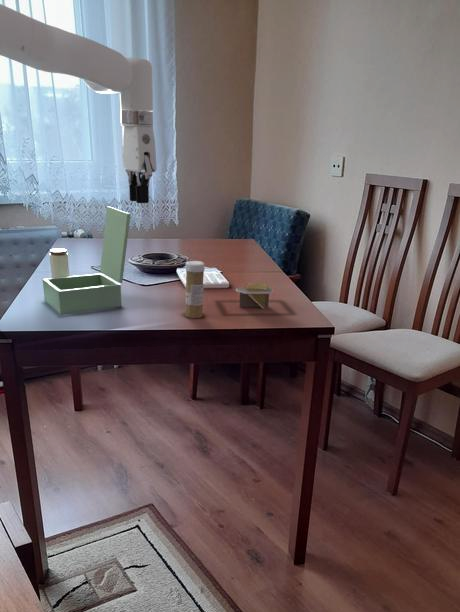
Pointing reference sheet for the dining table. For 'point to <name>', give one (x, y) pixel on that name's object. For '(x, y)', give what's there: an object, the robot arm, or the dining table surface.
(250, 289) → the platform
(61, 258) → the jar
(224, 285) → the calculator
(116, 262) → the chest lid
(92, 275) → the chest
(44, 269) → the dining table surface
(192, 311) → the sprinkles bottle
